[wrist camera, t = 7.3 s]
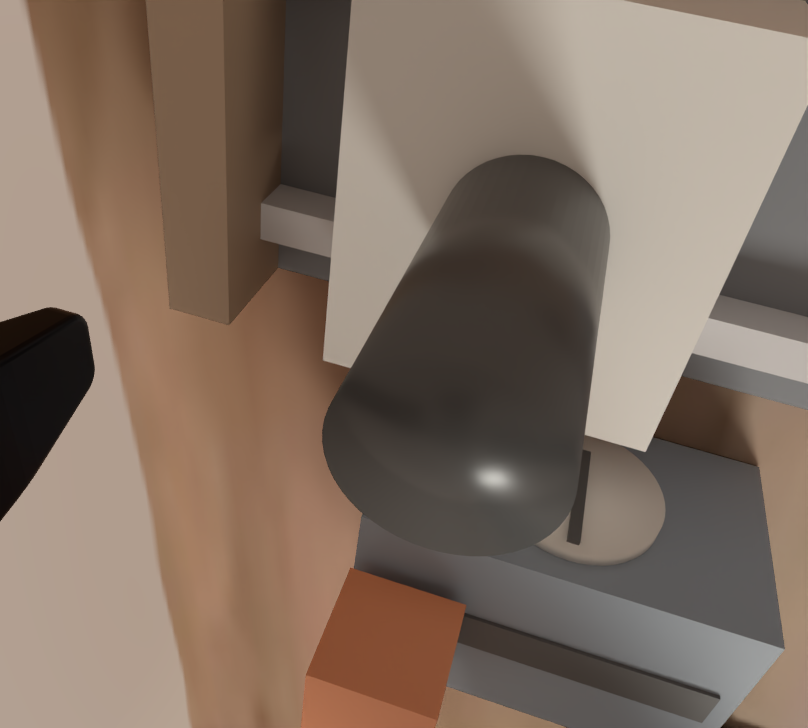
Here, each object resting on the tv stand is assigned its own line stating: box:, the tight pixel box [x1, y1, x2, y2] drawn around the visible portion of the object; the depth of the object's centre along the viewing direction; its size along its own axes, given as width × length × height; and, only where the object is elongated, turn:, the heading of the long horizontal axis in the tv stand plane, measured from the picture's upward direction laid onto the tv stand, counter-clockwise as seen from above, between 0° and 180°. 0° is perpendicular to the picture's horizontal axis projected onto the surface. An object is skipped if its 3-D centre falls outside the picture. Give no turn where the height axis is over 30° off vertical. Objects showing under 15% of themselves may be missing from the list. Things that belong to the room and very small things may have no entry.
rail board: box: [146, 0, 808, 410], centre depth 15 cm, size 10×26×4 cm, turn 82°
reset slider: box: [301, 568, 466, 728], centre depth 18 cm, size 3×3×3 cm
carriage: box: [322, 0, 808, 556], centre depth 12 cm, size 8×7×9 cm
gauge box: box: [354, 435, 785, 728], centre depth 21 cm, size 6×10×6 cm, turn 82°
